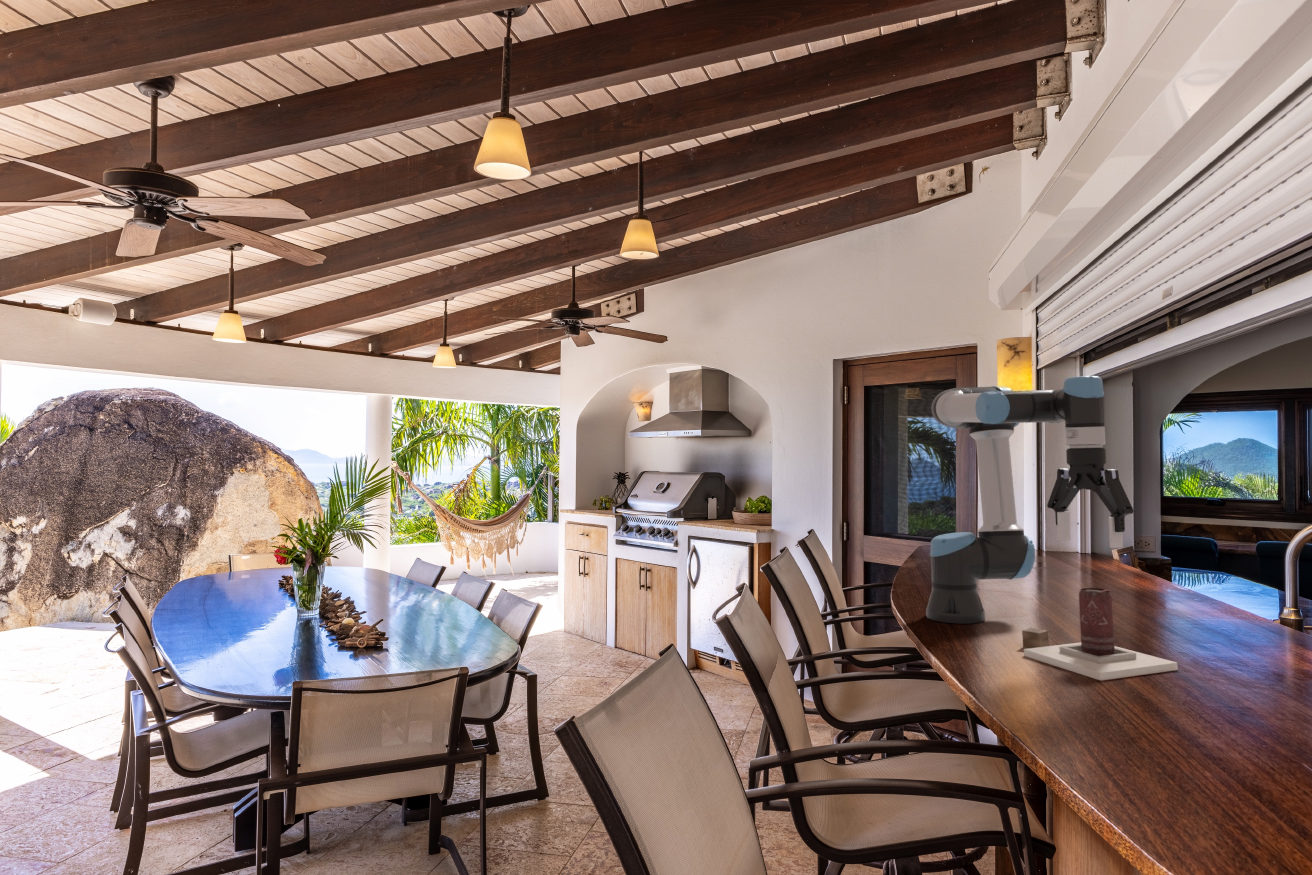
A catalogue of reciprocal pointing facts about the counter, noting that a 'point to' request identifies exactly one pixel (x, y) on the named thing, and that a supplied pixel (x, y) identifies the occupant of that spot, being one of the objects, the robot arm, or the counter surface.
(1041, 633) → the walnut block
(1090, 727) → the counter surface
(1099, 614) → the can
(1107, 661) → the board
